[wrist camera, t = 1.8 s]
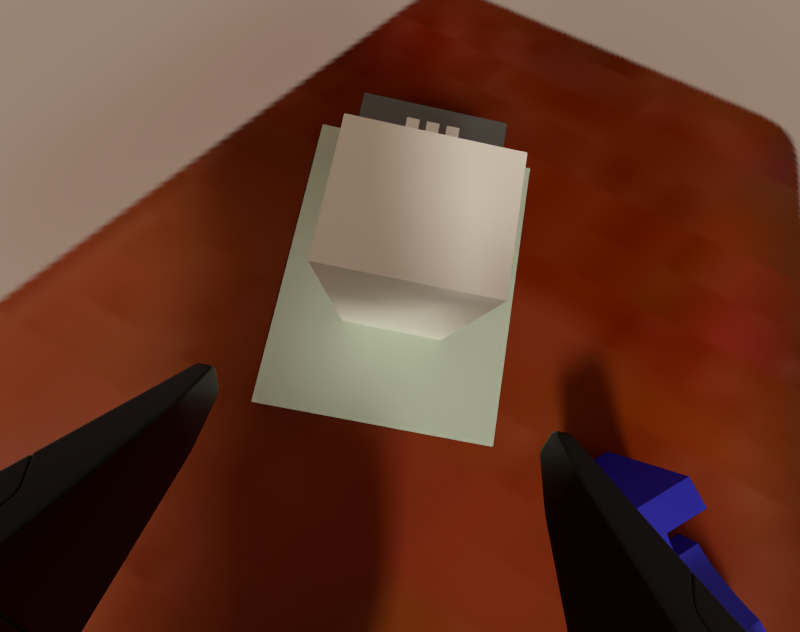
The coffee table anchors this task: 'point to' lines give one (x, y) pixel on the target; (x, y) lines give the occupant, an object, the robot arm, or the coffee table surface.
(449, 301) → the plug housing
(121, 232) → the coffee table surface
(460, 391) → the board
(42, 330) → the coffee table surface
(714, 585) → the cable clip
